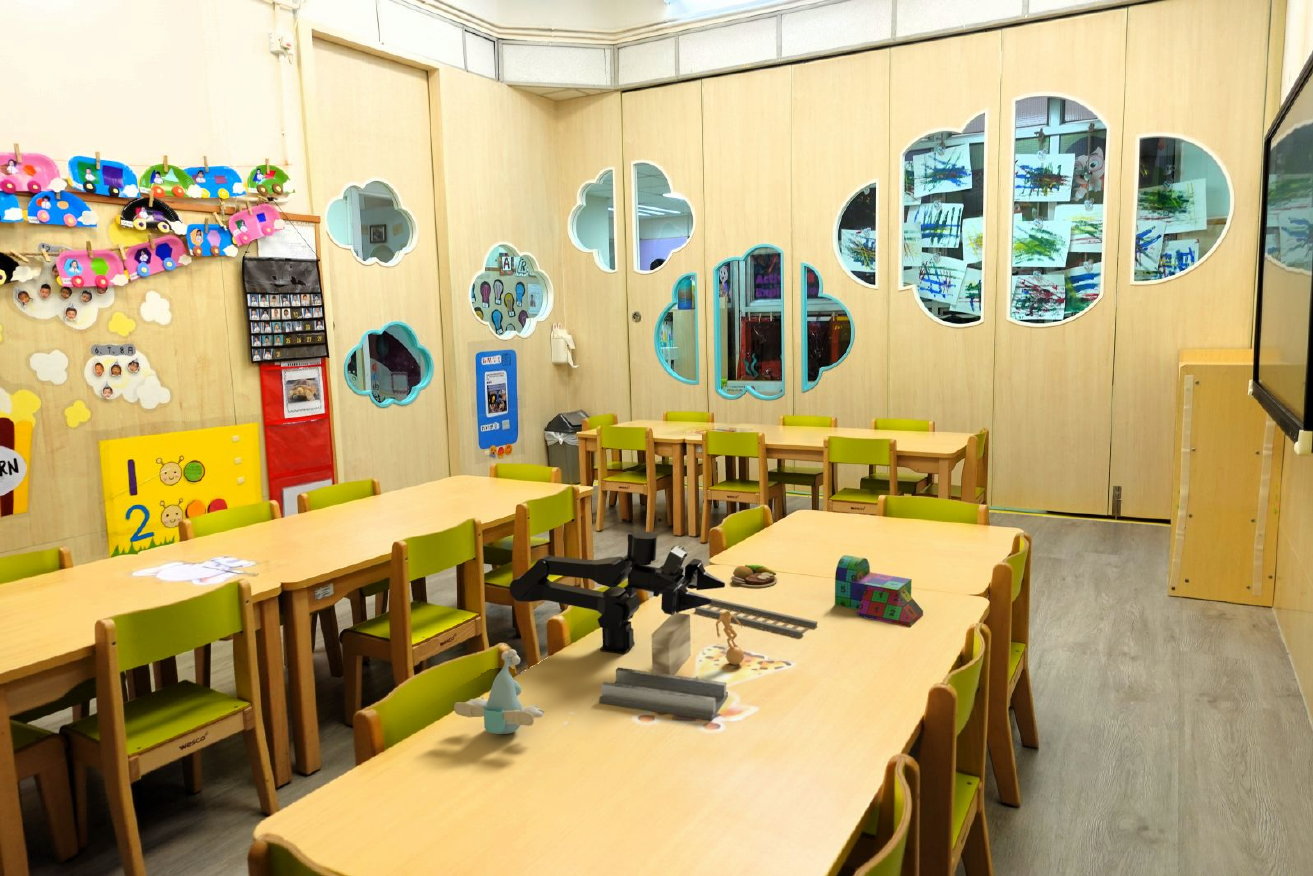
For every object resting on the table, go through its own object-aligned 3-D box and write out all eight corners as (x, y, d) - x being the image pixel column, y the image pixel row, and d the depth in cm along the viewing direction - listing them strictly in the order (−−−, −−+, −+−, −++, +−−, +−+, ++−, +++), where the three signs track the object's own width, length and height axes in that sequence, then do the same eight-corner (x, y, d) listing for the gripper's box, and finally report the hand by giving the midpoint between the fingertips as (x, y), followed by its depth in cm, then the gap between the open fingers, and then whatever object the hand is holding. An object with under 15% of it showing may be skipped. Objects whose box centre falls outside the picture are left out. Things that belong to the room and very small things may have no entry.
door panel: (652, 678, 187) (651, 634, 186) (674, 653, 200) (673, 612, 199) (669, 680, 186) (668, 636, 184) (690, 656, 199) (690, 614, 197)
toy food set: (758, 597, 239) (758, 583, 239) (715, 589, 247) (715, 575, 246) (790, 577, 256) (790, 564, 255) (748, 570, 264) (748, 557, 263)
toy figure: (557, 724, 167) (554, 651, 165) (532, 751, 158) (529, 673, 155) (482, 713, 173) (478, 641, 170) (453, 738, 163) (448, 662, 161)
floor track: (599, 702, 176) (598, 686, 176) (620, 680, 186) (620, 665, 186) (711, 720, 167) (711, 703, 167) (727, 696, 178) (727, 680, 177)
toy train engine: (827, 610, 226) (827, 565, 224) (850, 594, 238) (850, 551, 236) (909, 627, 213) (911, 578, 212) (929, 609, 225) (930, 563, 224)
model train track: (798, 642, 207) (798, 634, 207) (691, 616, 226) (691, 609, 226) (820, 627, 216) (820, 620, 216) (715, 603, 235) (715, 596, 234)
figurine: (730, 672, 189) (729, 620, 187) (709, 665, 193) (708, 613, 192) (753, 660, 195) (753, 609, 193) (732, 653, 199) (732, 603, 197)
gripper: (638, 562, 187) (706, 575, 182) (670, 533, 204) (733, 544, 198) (637, 608, 190) (703, 623, 185) (668, 576, 207) (730, 589, 201)
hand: (718, 593), depth 192 cm, fingers open, 9 cm apart
